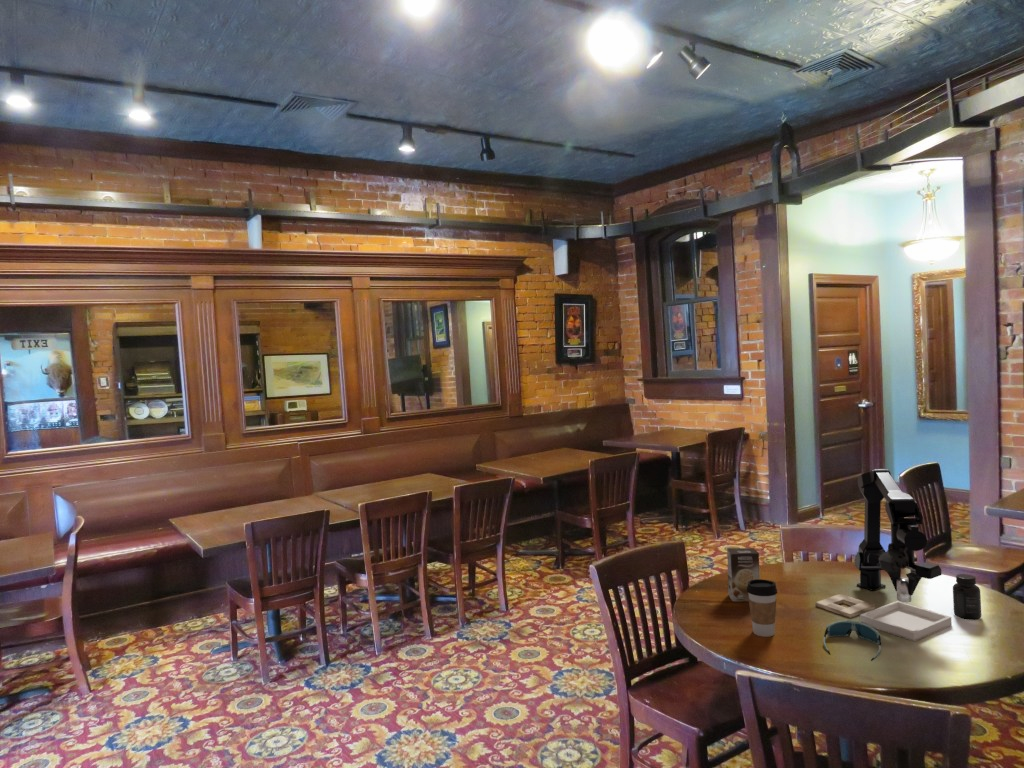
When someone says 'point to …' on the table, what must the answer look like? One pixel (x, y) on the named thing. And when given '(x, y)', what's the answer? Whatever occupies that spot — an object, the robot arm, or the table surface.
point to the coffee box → (741, 571)
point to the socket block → (852, 611)
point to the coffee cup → (762, 606)
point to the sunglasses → (848, 626)
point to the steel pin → (903, 590)
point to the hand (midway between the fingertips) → (904, 593)
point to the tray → (906, 620)
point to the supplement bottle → (966, 598)
